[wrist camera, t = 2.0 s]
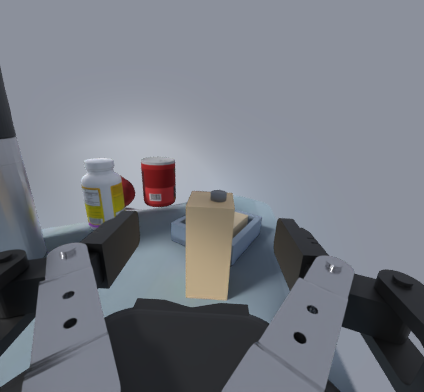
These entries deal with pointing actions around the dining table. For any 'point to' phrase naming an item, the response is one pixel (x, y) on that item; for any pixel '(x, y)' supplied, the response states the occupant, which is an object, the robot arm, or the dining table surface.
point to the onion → (127, 191)
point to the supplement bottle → (102, 191)
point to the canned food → (158, 181)
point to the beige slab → (239, 223)
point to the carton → (208, 244)
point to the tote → (238, 241)
